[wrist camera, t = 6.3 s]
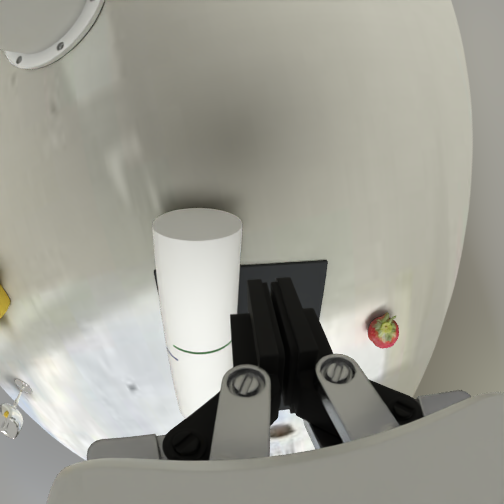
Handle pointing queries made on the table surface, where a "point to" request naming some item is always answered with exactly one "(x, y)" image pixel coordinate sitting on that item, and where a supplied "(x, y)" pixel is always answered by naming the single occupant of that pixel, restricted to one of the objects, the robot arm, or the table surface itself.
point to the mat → (302, 275)
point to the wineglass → (12, 414)
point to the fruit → (383, 331)
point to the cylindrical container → (197, 297)
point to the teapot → (3, 301)
